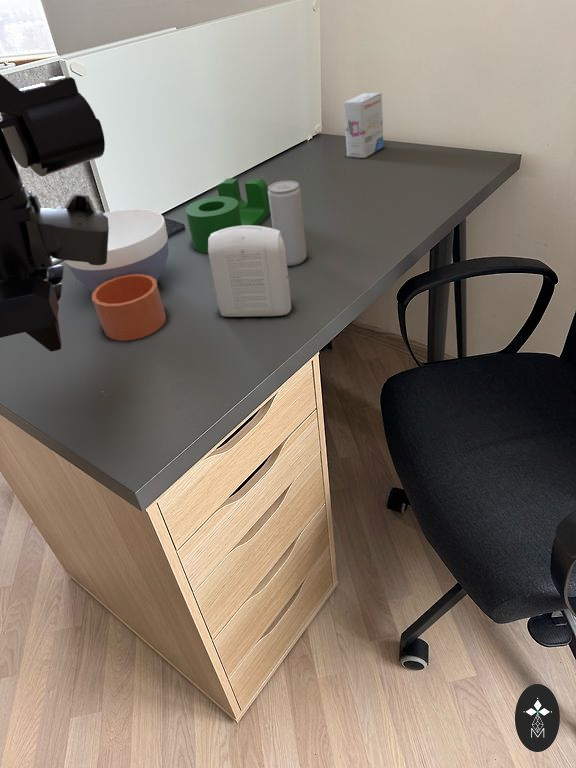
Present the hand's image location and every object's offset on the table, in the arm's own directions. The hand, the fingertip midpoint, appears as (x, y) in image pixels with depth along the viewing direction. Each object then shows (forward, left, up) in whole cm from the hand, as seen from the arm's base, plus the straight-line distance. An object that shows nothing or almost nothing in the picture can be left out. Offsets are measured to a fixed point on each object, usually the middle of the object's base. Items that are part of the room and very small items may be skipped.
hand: (56, 348), depth 57 cm
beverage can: (+32, +30, -11) cm, 45 cm away
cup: (+6, +21, -11) cm, 25 cm away
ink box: (+63, +76, -11) cm, 99 cm away
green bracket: (+25, +47, -11) cm, 54 cm away
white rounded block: (+23, +17, -11) cm, 31 cm away
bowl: (+6, +34, -11) cm, 36 cm away
